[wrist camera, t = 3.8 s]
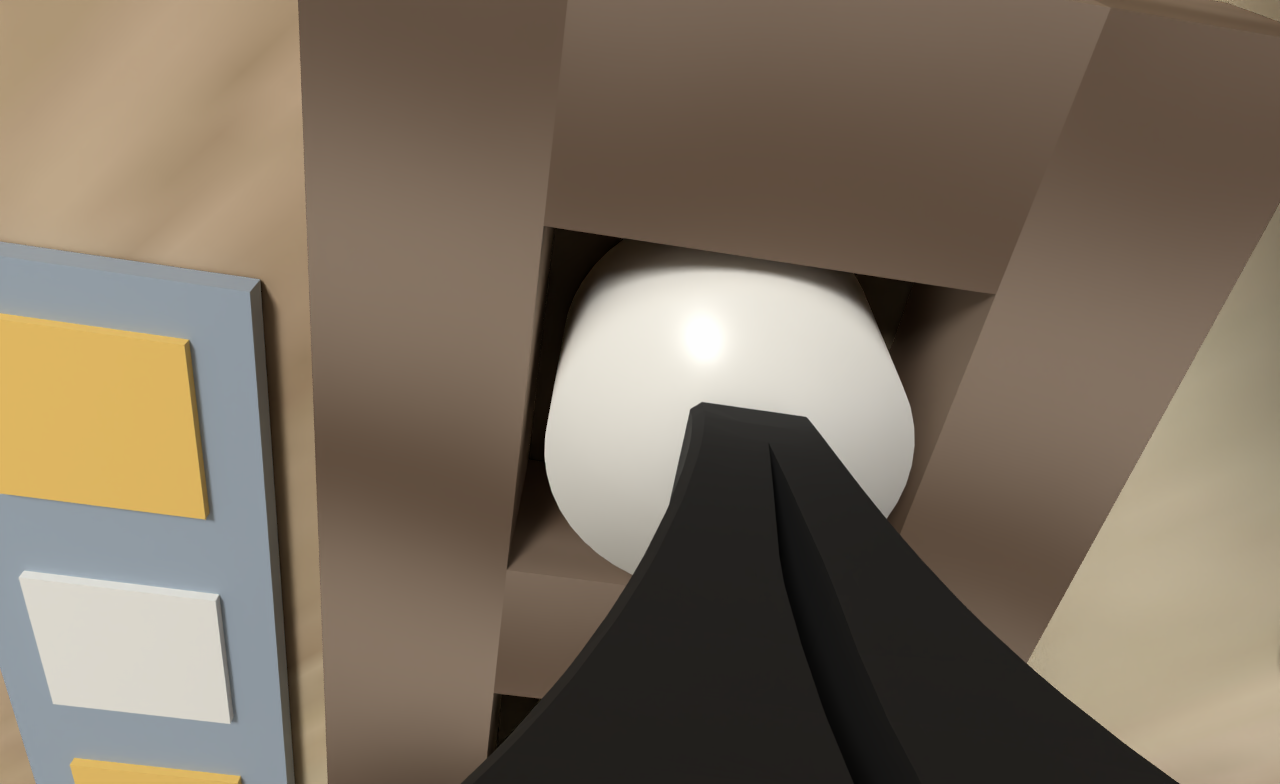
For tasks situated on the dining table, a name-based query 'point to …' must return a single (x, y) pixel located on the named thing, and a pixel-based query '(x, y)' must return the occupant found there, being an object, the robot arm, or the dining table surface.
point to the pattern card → (139, 524)
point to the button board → (752, 227)
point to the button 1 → (710, 380)
